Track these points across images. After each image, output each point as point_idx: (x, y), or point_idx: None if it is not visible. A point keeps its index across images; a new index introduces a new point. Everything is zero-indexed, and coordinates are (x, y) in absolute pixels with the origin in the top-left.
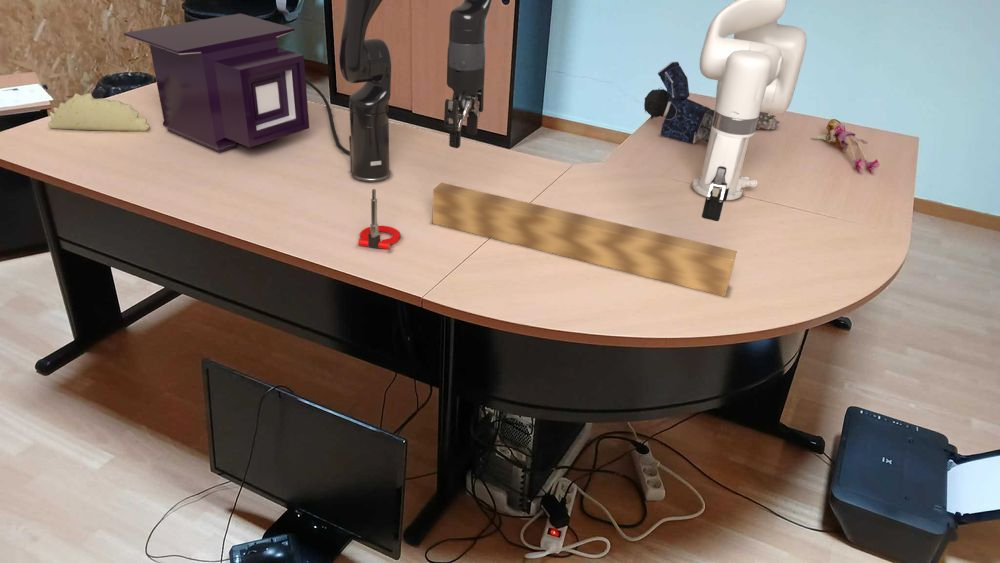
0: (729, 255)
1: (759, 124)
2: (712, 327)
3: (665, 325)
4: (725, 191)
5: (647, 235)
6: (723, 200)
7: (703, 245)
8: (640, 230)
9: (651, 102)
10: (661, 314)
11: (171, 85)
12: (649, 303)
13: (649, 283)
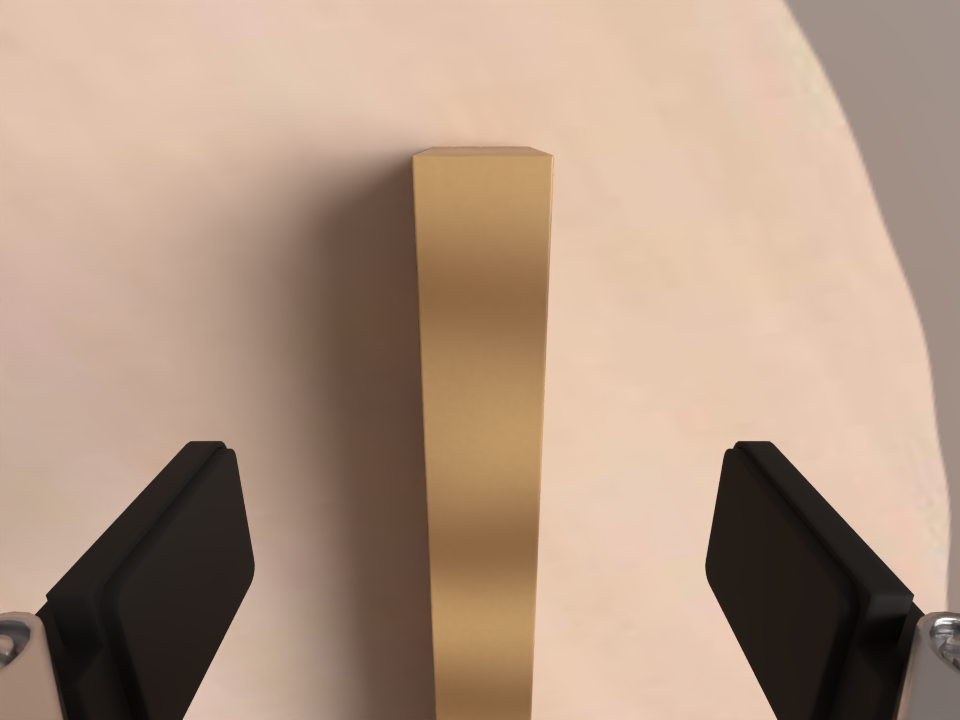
0: (504, 195)
1: None
2: (811, 162)
3: (849, 342)
4: (188, 529)
5: (491, 620)
6: (236, 461)
7: (451, 361)
8: (454, 653)
9: None
10: (775, 369)
11: None
12: (711, 423)
13: (563, 451)
